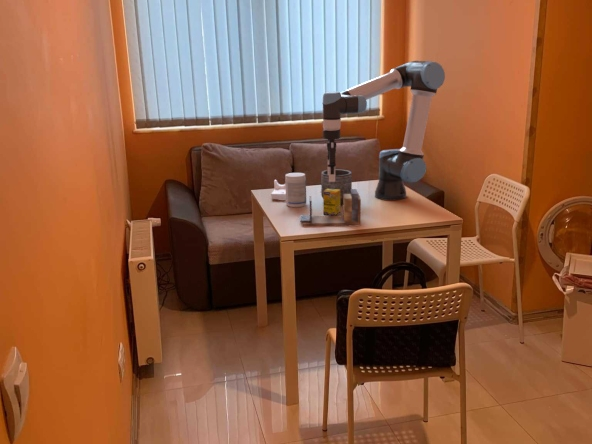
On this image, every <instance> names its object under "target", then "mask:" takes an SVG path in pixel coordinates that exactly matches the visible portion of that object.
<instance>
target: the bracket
mask: <svg viewBox="0 0 592 444" xmlns="http://www.w3.org/2000/svg"><path fill="white" fill-rule="evenodd" d="M273 183H274V184H273V185H274V187H273V188H274V189H273V191H272V192H271V194H270V197H271V198H270V199H271V200H278V201H279V200H286V185H285V183H284V184H280V183H279V182H278V180H277V179H274V181H273Z"/></svg>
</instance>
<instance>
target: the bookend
mask: <svg viewBox="0 0 592 444" xmlns="http://www.w3.org/2000/svg"><path fill="white" fill-rule="evenodd" d="M308 199H309V214H300V219H299V221H300V223H302V222H312V216H313V212H312V211H313V210H312V208H313V206H312V202H313V201H312V195H309V198H308Z"/></svg>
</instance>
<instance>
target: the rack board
mask: <svg viewBox="0 0 592 444" xmlns="http://www.w3.org/2000/svg"><path fill="white" fill-rule="evenodd" d="M361 200H362V199H361V196H360V194H359V192H358V191H357V189H356V188H352V189H350V194H343V207H342V209H343V210H342V211H343V214H342V215H340V214H339V215H337V216H329V215H312V222H301V223H302V224H301V225H302V227H337V226H338V227H346V226H349V225H359V226H361V213H362V212H361V209H362V207H361V206H362V203H361Z"/></svg>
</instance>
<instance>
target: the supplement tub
mask: <svg viewBox="0 0 592 444" xmlns="http://www.w3.org/2000/svg"><path fill="white" fill-rule="evenodd" d="M306 178H307V177H306V173H303V172H290V173H288V172H287V173H285V177H284V179H285V182H284V184H285V185H286V201H285V202H286V203H285V204H286V206H288V207H291V208H302V207H305V206H306V205H307V179H306Z"/></svg>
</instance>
